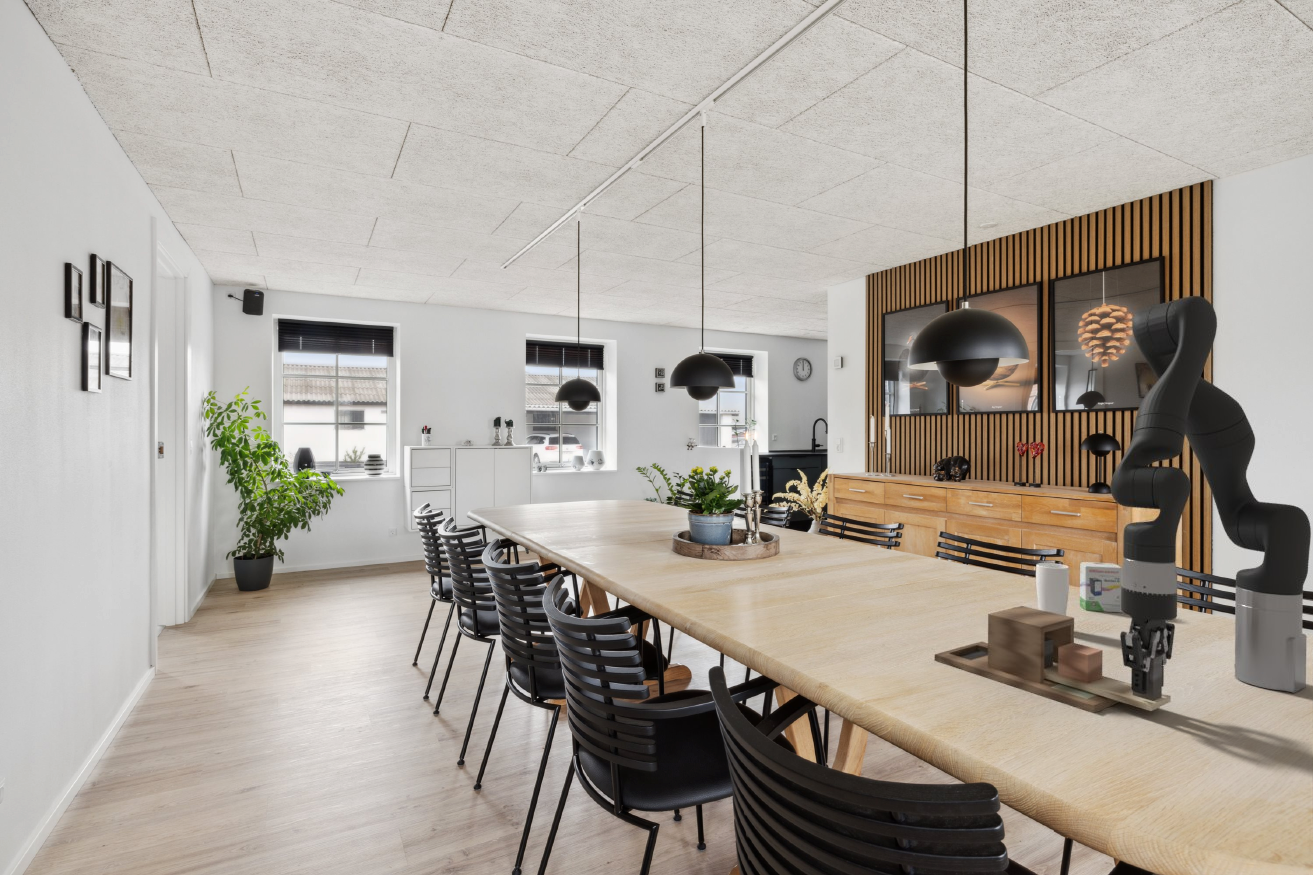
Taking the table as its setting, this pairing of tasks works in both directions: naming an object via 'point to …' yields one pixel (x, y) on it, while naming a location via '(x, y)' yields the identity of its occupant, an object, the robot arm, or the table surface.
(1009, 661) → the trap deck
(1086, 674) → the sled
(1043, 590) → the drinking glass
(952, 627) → the table surface
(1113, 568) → the ink box
